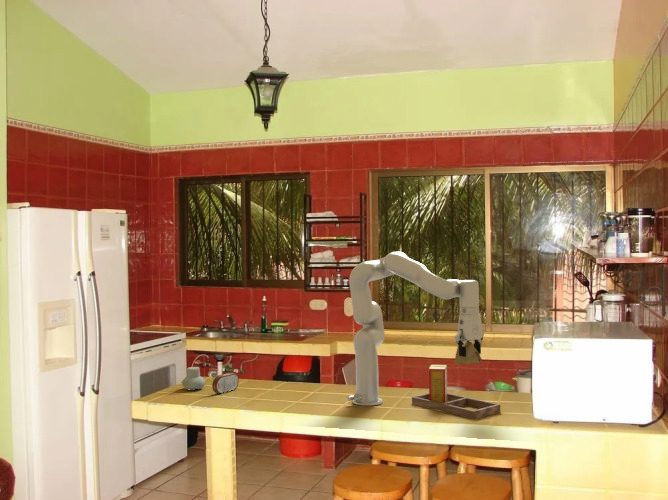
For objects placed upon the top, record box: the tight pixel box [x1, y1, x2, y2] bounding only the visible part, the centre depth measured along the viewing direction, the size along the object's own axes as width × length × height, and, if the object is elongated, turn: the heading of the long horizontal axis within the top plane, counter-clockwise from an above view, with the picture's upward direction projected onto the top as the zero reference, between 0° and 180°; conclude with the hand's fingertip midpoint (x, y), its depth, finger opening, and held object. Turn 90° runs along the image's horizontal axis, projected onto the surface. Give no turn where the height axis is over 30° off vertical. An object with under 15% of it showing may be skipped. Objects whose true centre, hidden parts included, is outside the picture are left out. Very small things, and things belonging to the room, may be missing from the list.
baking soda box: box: [428, 364, 448, 403], centre depth 290 cm, size 10×6×16 cm
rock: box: [454, 341, 483, 365], centre depth 277 cm, size 11×9×10 cm
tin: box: [211, 372, 240, 394], centre depth 319 cm, size 15×3×8 cm, turn 144°
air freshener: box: [181, 366, 206, 391], centre depth 326 cm, size 11×8×10 cm
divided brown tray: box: [411, 392, 501, 420], centre depth 284 cm, size 16×33×3 cm, turn 39°
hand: (470, 354), depth 277 cm, fingers closed on rock, 8 cm apart
